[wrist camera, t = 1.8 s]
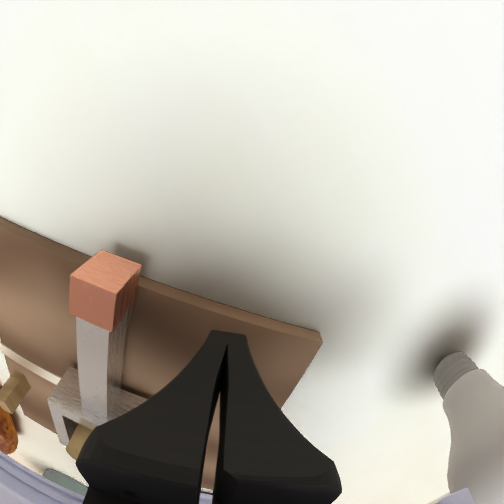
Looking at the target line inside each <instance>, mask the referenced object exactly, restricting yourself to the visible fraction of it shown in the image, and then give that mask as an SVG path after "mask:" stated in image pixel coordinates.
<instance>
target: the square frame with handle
mask: <svg viewBox="0 0 504 504" xmlns="http://www.w3.org/2000/svg"><path fill="white" fill-rule="evenodd" d="M141 266H142V265H141V264H139V263H136V262H133V261H130V260H128V259H125V258H122V257H120V256H117V255H114V254H112V253H109V252H106V251H104V250H101V251H99V252H98V253H97V254H96V255H94V256H93V257H92V258H90V259H89V260H88V261H87V262H85V263H84V264H83V265H82V266H80V267H79V268H78V269H77V270H75V271H74V272H73V273H72V274H70V289H69V313H70V314H72V315H74V316H76V338H77V361H78V370H77V369H75V368H73V367H71V366H70V367H69V368H68V369H67V371H66V372H65V374H64V375H63V377H62V378H61V380H60V381H59V383H58V384H57V385H56V387H55V388H54V390H53V391H52V393H51V394H50V396H49V397H48V399H47V401H48V405H49V408H50V412H51V415H52V419H53V422H54V425H55V428H56V431H57V434H58V437H59V440H60V443H61V444H63V445H65V446H67V445H68V443H69V441H70V439H71V437H72V435H73V433H74V431H75V429H76V427H77V425H78V423H79V424H81V425H83V426H85V427H87V428H89V429H91V430H93V429H94V428H95V427H96V426H99V425H101V424H104V423H106V422H108V421H110V420H113V419H115V418H117V417H119V416H121V415H123V414H125V413H127V412H128V411H130V410H132V409H134V408H135V407H137V406H139V405H140V404H142V403H143V402H145V401H146V400H148V399H146V398H143V397H140V396H137V395H135V394H132V393H130V392H127V391H125V390H122V389H121V381H122V368H123V357H124V348H125V339H126V330H127V323H128V315H129V308H130V306H131V305H132V303H133V302H134V300H135V299H136V293H137V288H138V282H139V277H140V271H141Z"/></svg>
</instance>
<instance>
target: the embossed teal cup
mask: <svg viewBox="0 0 504 504" xmlns="http://www.w3.org/2000/svg"><path fill="white" fill-rule="evenodd" d="M42 477H44V478H46V479H48V480H50V481H52V482H54V483H56V484H58V485H60V486H62V487H64V488H66V489H68V490H71V491H73V492H75V493H77V494H80V495H82V496H84V497H85V495H86V492H87V490H88V487H87V486H85V485H83V484H82V483H80V482H78V481H76V480H74V479H73V478H71V477H69V476H67V475H65V474H63V473H60V472H58V471H55V470H52V469H47V470H46V471H45V473H44V474H43V476H42Z"/></svg>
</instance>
